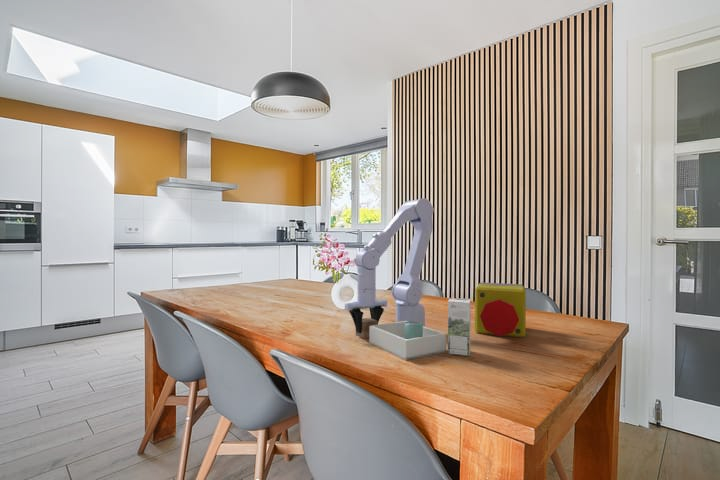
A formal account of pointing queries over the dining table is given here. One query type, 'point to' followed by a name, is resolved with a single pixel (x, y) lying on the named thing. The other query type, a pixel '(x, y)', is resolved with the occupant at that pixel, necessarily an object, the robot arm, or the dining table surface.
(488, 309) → the emergency stop button
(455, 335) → the syrup box
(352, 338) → the dining table surface
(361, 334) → the walnut cube
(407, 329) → the teal canister
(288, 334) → the dining table surface
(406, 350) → the grey tote
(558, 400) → the dining table surface
